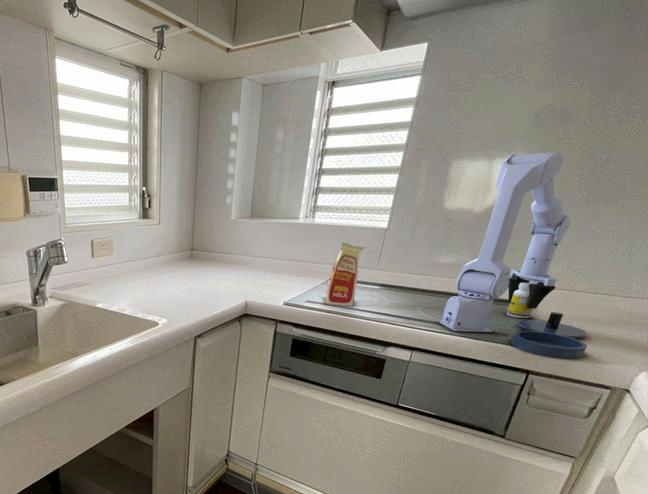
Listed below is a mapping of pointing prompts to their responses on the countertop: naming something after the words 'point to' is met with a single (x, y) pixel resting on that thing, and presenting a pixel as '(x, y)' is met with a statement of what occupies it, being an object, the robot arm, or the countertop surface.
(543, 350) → the pot
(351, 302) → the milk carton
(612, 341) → the countertop surface
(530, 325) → the pot lid
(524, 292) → the supplement bottle
